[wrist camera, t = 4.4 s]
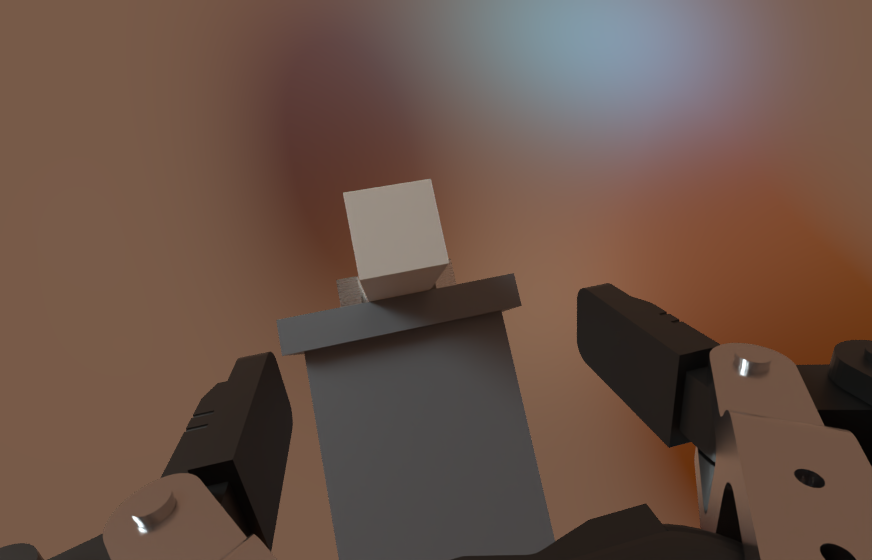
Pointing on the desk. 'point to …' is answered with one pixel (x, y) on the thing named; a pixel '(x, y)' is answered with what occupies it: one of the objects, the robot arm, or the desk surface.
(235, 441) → the robot arm
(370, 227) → the tall white box
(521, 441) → the grey pedestal
